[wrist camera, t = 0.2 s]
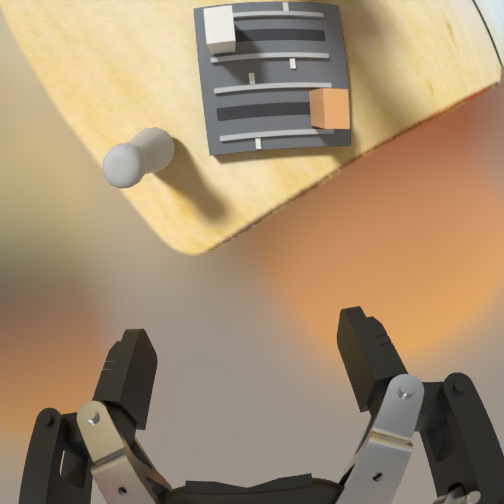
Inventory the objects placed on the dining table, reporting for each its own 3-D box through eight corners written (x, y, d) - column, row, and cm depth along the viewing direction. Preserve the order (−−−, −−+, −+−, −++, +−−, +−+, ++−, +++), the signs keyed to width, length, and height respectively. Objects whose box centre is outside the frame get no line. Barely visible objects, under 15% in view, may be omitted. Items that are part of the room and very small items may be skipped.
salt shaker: (185, 135, 33) (159, 150, 21) (168, 174, 35) (138, 208, 24) (145, 120, 31) (103, 128, 20) (130, 159, 33) (86, 186, 22)
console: (195, 13, 24) (192, 7, 22) (333, 10, 24) (340, 4, 22) (211, 153, 34) (209, 156, 32) (345, 143, 34) (352, 146, 32)
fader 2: (308, 91, 28) (322, 88, 24) (330, 91, 28) (347, 89, 24) (311, 125, 31) (325, 128, 26) (332, 125, 31) (349, 128, 26)
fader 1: (208, 23, 24) (203, 8, 19) (231, 20, 24) (231, 5, 19) (211, 54, 26) (206, 44, 21) (235, 51, 26) (235, 40, 21)
